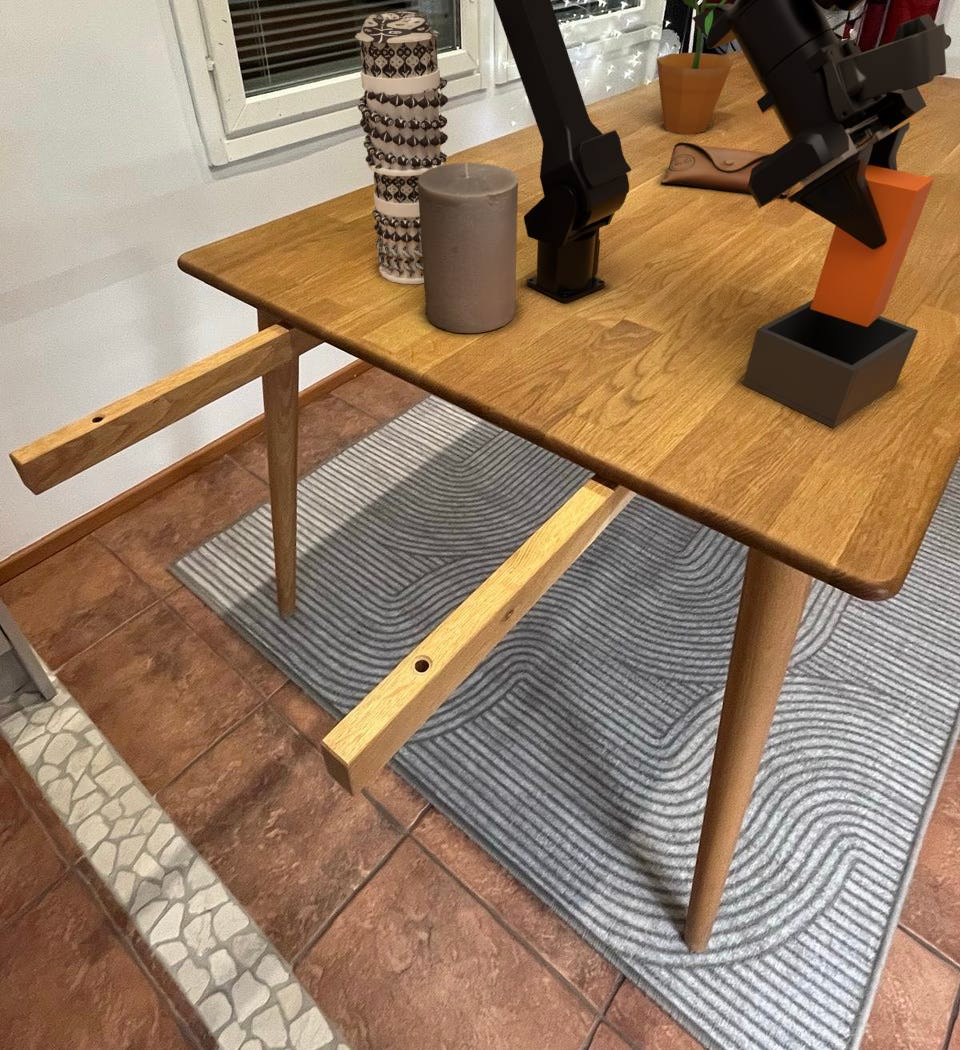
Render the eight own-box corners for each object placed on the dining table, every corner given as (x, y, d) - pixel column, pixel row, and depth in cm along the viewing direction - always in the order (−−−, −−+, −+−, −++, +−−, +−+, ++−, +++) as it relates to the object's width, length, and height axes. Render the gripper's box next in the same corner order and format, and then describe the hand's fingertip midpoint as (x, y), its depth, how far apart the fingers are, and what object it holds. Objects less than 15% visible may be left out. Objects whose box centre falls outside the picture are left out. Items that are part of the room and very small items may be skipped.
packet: (867, 327, 62) (917, 190, 55) (809, 309, 65) (850, 175, 57) (883, 313, 64) (934, 178, 57) (827, 295, 67) (868, 164, 59)
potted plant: (747, 144, 122) (797, -95, 102) (630, 141, 124) (656, -94, 104) (737, 114, 135) (779, -103, 114) (631, 112, 137) (654, -101, 117)
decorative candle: (468, 273, 87) (462, 17, 70) (396, 292, 84) (371, 27, 67) (433, 247, 93) (418, 4, 76) (364, 263, 90) (333, 13, 73)
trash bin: (833, 428, 64) (854, 370, 60) (742, 384, 69) (756, 328, 65) (895, 386, 68) (918, 330, 64) (806, 348, 74) (822, 294, 70)
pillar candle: (407, 313, 80) (393, 164, 70) (472, 284, 85) (469, 141, 75) (470, 344, 75) (465, 188, 65) (536, 311, 80) (541, 162, 70)
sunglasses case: (658, 182, 108) (669, 131, 106) (663, 194, 114) (673, 147, 113) (789, 196, 103) (803, 144, 101) (786, 208, 109) (799, 159, 108)
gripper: (839, -11, 46) (955, 217, 48) (946, -42, 56) (1038, 148, 58) (701, 110, 55) (802, 297, 57) (813, 65, 65) (896, 225, 67)
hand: (889, 239), depth 59 cm, fingers closed on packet, 3 cm apart
